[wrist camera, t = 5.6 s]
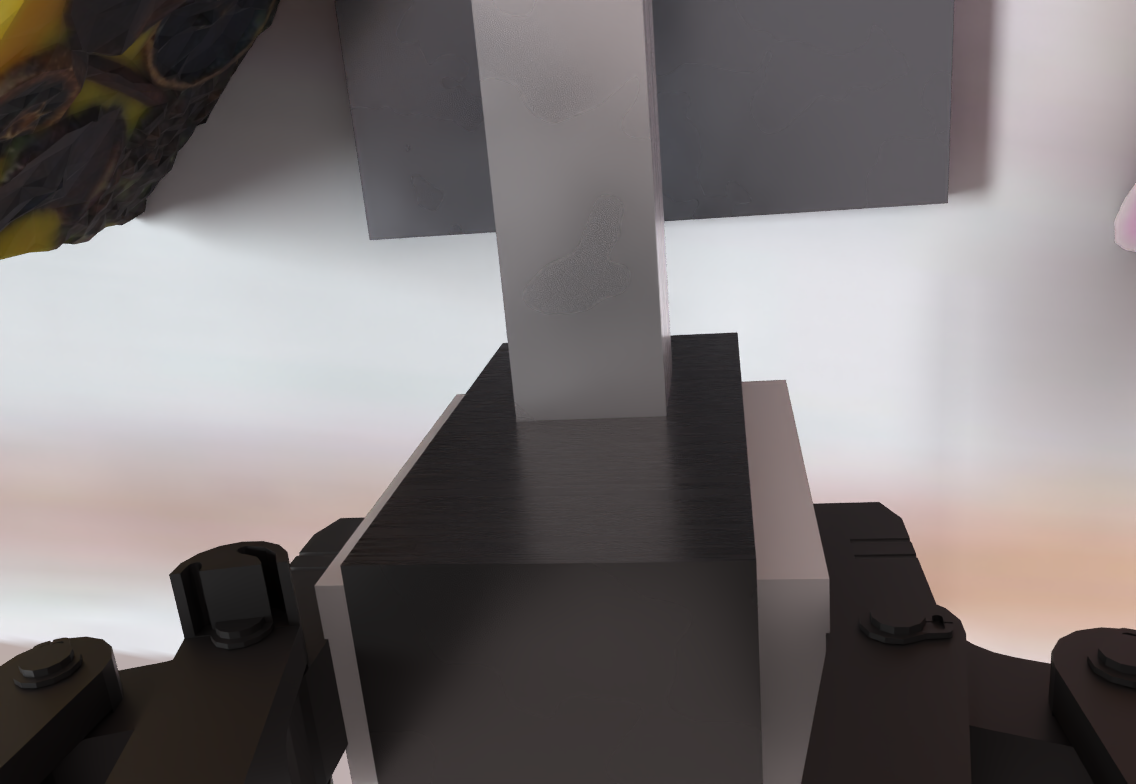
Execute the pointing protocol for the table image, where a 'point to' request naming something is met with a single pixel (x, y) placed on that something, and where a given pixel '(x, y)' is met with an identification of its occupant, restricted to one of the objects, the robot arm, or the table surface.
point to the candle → (105, 105)
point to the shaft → (571, 468)
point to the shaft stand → (673, 108)
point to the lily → (1127, 222)
